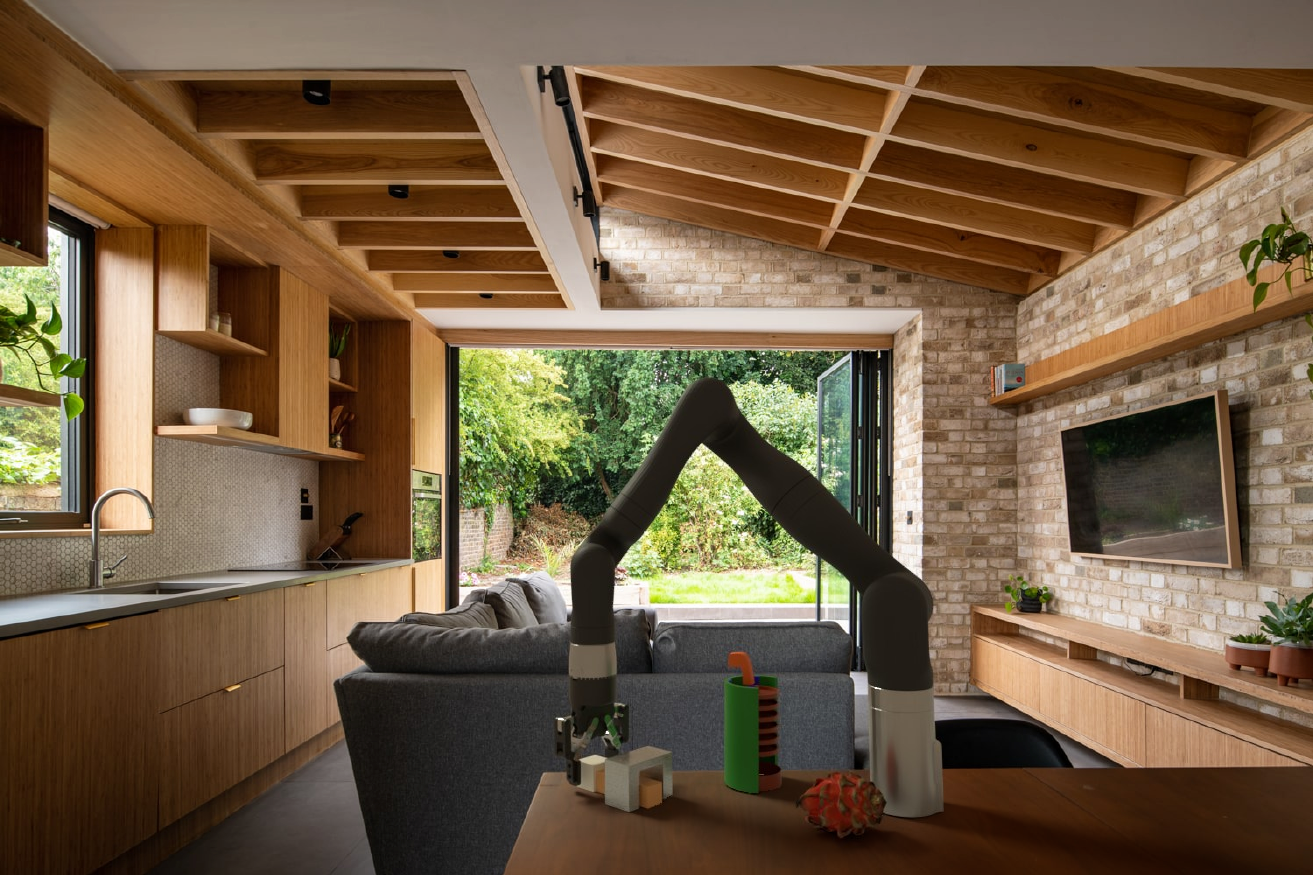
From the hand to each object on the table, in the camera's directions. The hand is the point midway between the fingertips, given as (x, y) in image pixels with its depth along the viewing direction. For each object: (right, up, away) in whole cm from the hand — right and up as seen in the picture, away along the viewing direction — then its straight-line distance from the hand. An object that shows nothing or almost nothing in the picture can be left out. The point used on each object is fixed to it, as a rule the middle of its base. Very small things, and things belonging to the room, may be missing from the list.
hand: (593, 778), depth 133 cm
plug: (+4, -1, -4) cm, 6 cm away
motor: (+25, -1, 0) cm, 25 cm away
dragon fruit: (+34, +1, -20) cm, 40 cm away
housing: (+7, 0, -7) cm, 10 cm away
